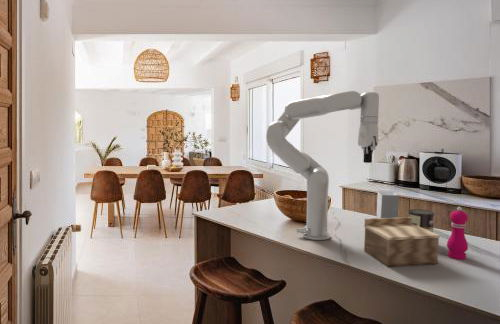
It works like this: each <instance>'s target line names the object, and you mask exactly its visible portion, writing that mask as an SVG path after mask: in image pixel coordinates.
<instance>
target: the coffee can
mask: <svg viewBox="0 0 500 324" xmlns="http://www.w3.org/2000/svg"><path fill="white" fill-rule="evenodd" d="M408 217H411V218H412V224H414V225H416V226H418V227H421V228H423V229H426V230H428V231H431V232H433V233H434V222H435V220H434V219H435V212H434V211H431V210H428V209H417V208H415V209H412V208H411V209H409V210H408Z"/></svg>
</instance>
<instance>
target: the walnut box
mask: <svg viewBox="0 0 500 324" xmlns="http://www.w3.org/2000/svg"><path fill="white" fill-rule="evenodd" d="M439 239H440V238H427V239H406V240H387V239H385V238H384V237H382V236H380V235H378V234H376V233H374V232H372V231H371V230H369V229H367V228H365V227H364V245H363V246H364V247H363V249H364V250H363V251H364V252H365V253H366V254H368V255H370V256H371V257H372V258H374V259H375V260H376V261H378V262H379V263H381V264H382V265H384V266H385V267H387V268H394V267H411V266H413V267H414V266H426V265H438V261H439V260H438V259H439V257H438V256H439V242H440V241H439Z"/></svg>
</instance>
